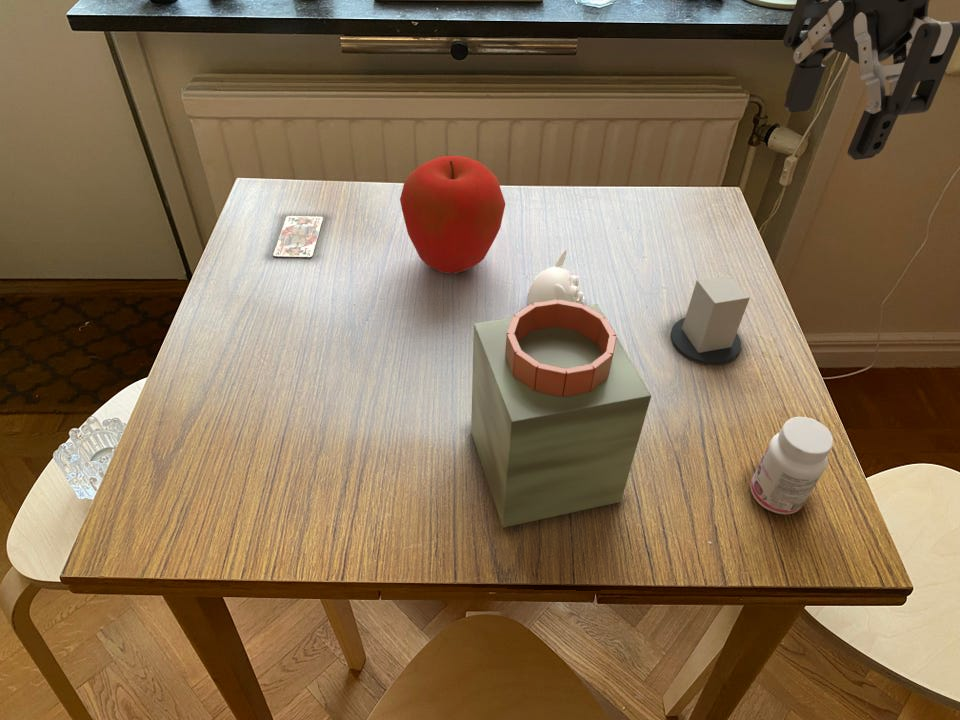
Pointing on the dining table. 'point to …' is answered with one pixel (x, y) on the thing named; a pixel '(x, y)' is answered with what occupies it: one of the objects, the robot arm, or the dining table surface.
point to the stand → (553, 426)
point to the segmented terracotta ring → (552, 376)
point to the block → (715, 313)
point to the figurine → (555, 285)
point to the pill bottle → (792, 465)
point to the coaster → (707, 357)
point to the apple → (452, 212)
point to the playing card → (298, 236)
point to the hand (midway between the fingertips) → (826, 132)
